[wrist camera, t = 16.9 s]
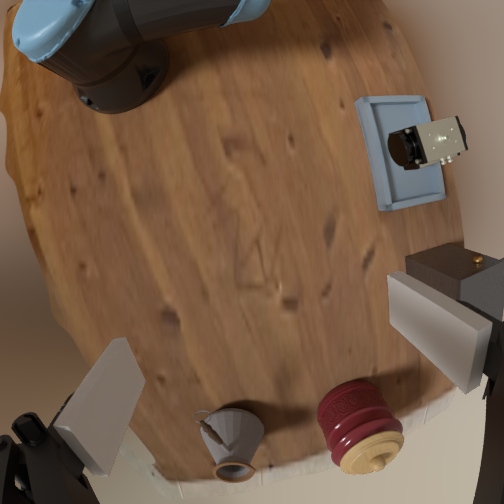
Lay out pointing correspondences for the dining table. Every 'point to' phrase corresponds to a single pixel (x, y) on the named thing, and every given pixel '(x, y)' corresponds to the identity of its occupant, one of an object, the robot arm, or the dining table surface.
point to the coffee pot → (232, 442)
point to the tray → (382, 165)
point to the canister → (359, 428)
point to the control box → (461, 276)
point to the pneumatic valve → (427, 143)
